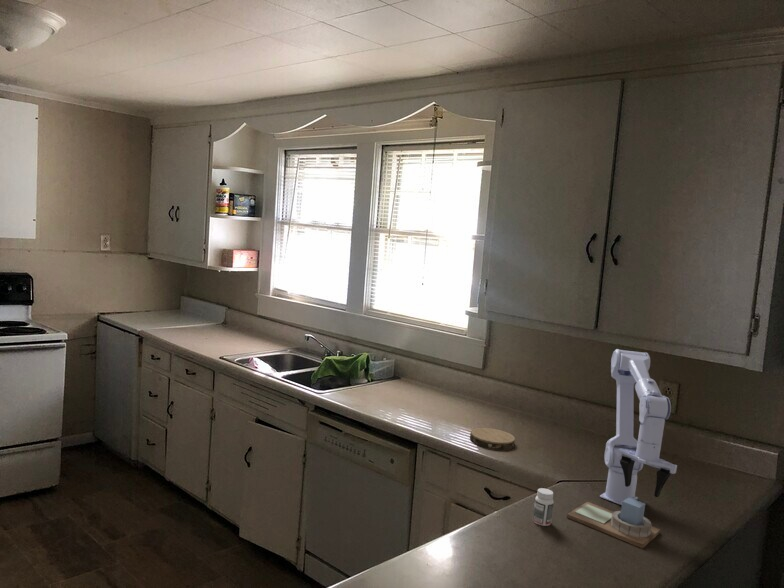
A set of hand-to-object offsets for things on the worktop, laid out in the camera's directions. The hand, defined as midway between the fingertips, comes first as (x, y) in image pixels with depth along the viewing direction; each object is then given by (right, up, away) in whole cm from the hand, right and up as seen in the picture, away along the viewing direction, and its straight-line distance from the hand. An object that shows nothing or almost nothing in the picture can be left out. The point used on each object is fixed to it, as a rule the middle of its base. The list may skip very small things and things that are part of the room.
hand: (642, 490), depth 161 cm
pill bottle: (-27, -7, -3) cm, 28 cm away
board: (-8, -9, 0) cm, 12 cm away
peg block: (-4, -9, -3) cm, 10 cm away
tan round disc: (-30, -2, +59) cm, 66 cm away
